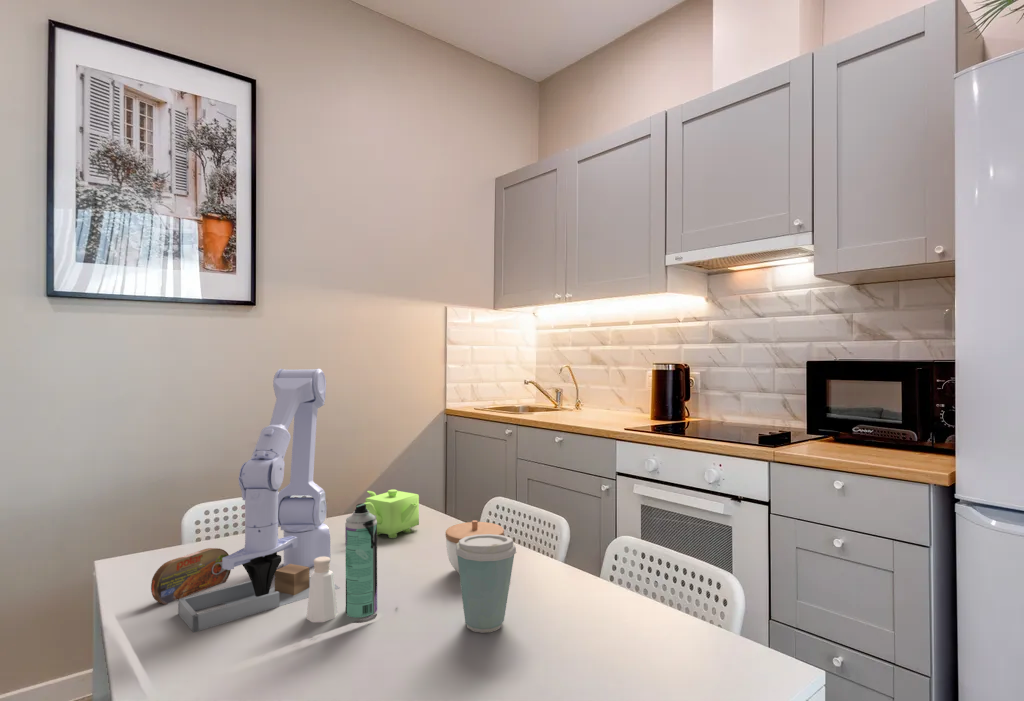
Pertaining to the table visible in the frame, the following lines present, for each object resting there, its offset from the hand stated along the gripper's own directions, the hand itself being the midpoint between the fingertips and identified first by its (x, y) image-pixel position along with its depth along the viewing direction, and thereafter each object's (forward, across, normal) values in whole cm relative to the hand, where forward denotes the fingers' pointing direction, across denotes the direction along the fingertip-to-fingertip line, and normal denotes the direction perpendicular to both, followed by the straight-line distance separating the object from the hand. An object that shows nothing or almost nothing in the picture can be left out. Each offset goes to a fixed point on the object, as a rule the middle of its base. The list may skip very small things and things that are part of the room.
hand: (261, 596), depth 107 cm
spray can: (+2, -6, +20) cm, 21 cm away
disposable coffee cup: (+2, -15, +41) cm, 43 cm away
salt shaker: (+2, -1, +15) cm, 15 cm away
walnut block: (+1, -6, +1) cm, 6 cm away
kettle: (+2, -46, -10) cm, 47 cm away
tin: (+2, +4, -16) cm, 16 cm away
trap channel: (+2, +1, 0) cm, 2 cm away
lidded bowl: (+2, -34, +25) cm, 42 cm away
